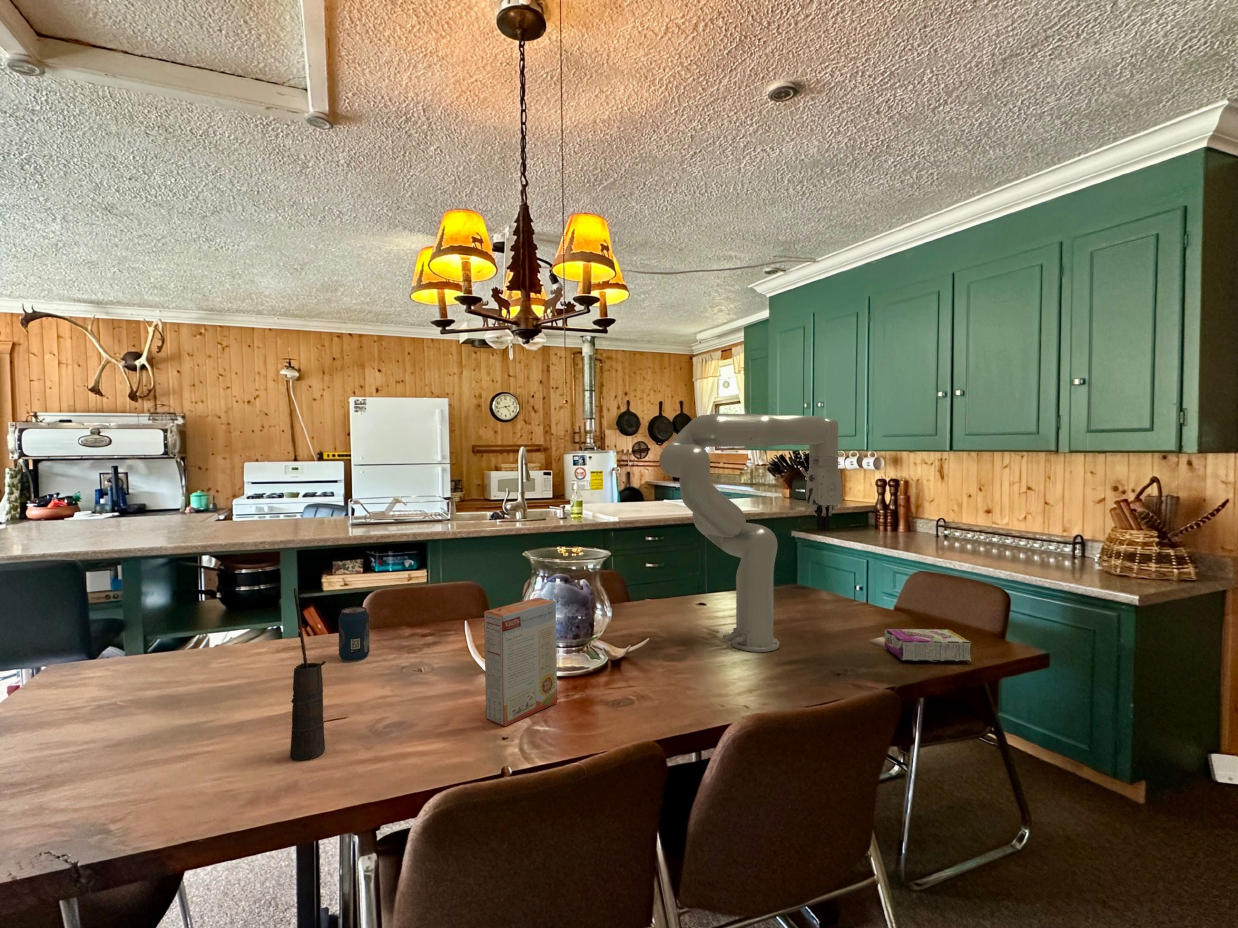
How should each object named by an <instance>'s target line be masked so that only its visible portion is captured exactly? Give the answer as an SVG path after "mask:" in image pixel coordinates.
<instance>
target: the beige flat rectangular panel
mask: <svg viewBox="0 0 1238 928" xmlns="http://www.w3.org/2000/svg"><path fill="white" fill-rule="evenodd" d="M868 643H869V644H873V645H875V646H879V647H881V648H882V647H883V648H886V647H885V635H883V636H881V637H880V636H879V637H875V638H873V639H870V640H868ZM886 649H887V648H886ZM932 662H934V663H937V662H938V661H932Z"/></svg>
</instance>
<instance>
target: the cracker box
mask: <svg viewBox="0 0 1238 928" xmlns="http://www.w3.org/2000/svg"><path fill="white" fill-rule="evenodd" d="M483 619H484V620H483V622H484V623H483V625H484V626H483V627H484V631H483V632H484V674H485V675H484V678H485V716H486V717H485V719H486V720H488V721H490V722H493V723H495V724H497V725H500V726H503V727H507V726H510V725H512V724H514V723H516V722H518V721H520V720H522V719H524V718H525V719H526V718H527V717H529V716H531V715H533V714H536V713H538V712H539V711H541V710H544V709H546V708H548V707H551V706H553V705H555V704H557V703H558V675H557V674H558V670H557V669H558V667H557V664H558V663H557V655H558V654H557V603H556V600H555V601H554V600H551V599H546V598H543V597H535V598H531V599H527V600H523V601H519V602H515V603H512V604H508V605H504V606H500V607H496V608H492V609H489V610H485V611H484V612H483Z"/></svg>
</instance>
